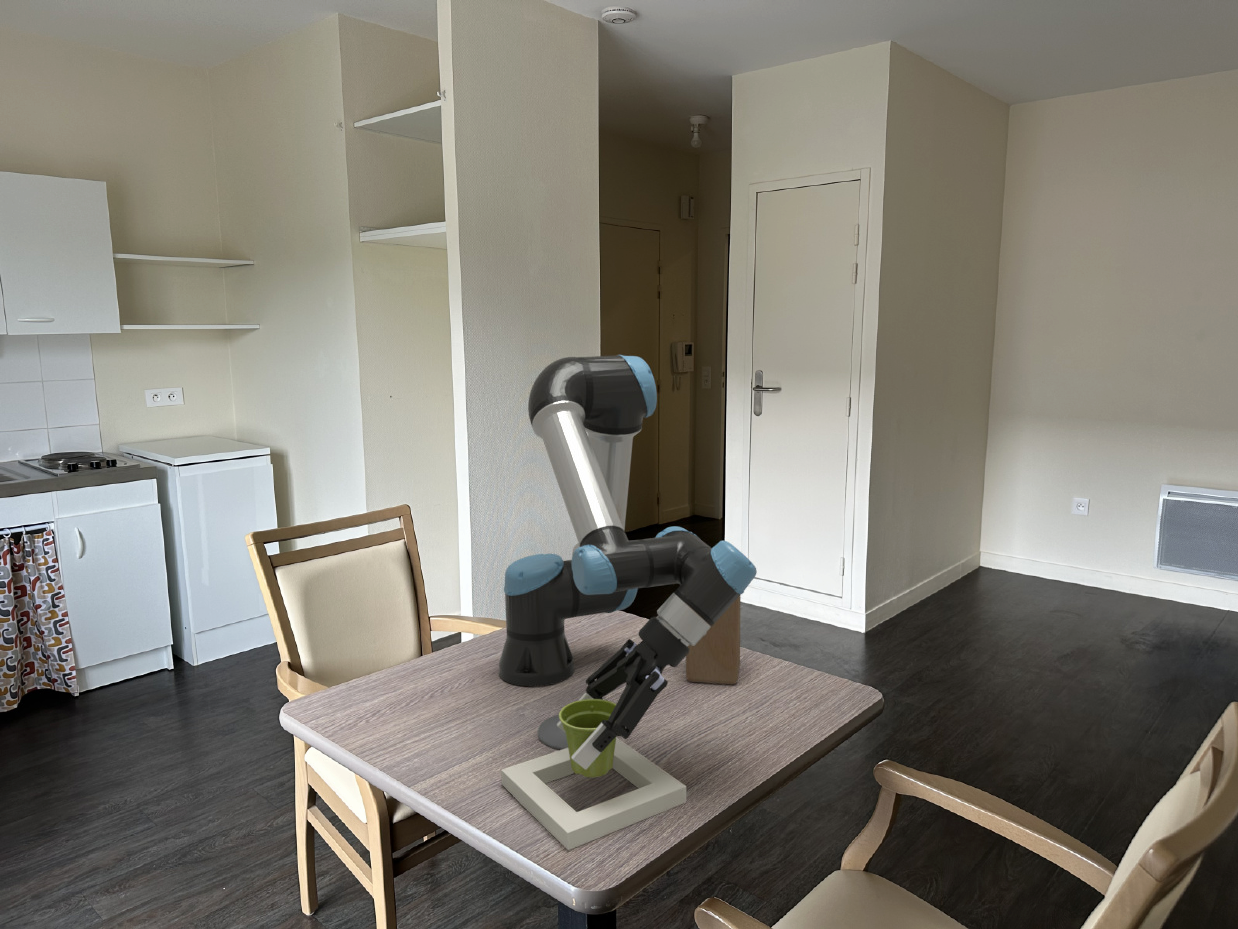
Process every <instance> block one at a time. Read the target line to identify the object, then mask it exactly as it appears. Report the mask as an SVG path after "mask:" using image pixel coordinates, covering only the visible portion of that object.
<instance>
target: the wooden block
mask: <svg viewBox="0 0 1238 929" xmlns="http://www.w3.org/2000/svg"><path fill="white" fill-rule="evenodd" d="M741 596H742V594H741V595H740V596H739V597H738V598H737V599H736V600H735V601H734V603H733V604H732V605H731V606H730V607H729V608H728V609H727V610H726V611H725V613H724V614H723V615H722V616H721V617H720V618H719V619H718V620H717V621H716V622H715V623H714V625H713V626H711V625H710V626H711V627H710V629H709V630H708V631H707V634H706V635H705V636H703V637H702V638H701V639H700V640H699V641H698V642H697V644H696V645H695V646H692V645H689V646H688V648H689V649H690V650H689V653H688V654H687V655H686V656H685V677H686V680H687V681H689V682H694V683H706V684H721V685H735V684H736V683H737V682H738V678H739V673H740V671H739V670H740V666H741ZM686 604H687V603H686ZM687 605H688V604H687ZM688 606H689V605H688ZM689 607H690V606H689ZM690 608H691V607H690ZM691 609H692V608H691ZM692 610H693V609H692ZM693 611H694V610H693ZM694 612H695V611H694ZM695 613H696V612H695ZM698 615H699V614H698ZM699 616H700V615H699ZM700 617H701V616H700ZM701 618H702V617H701ZM702 619H703V618H702ZM703 620H704V619H703ZM704 621H705V620H704ZM705 622H706V621H705ZM706 623H707V622H706ZM707 624H708V623H707Z"/></svg>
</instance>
